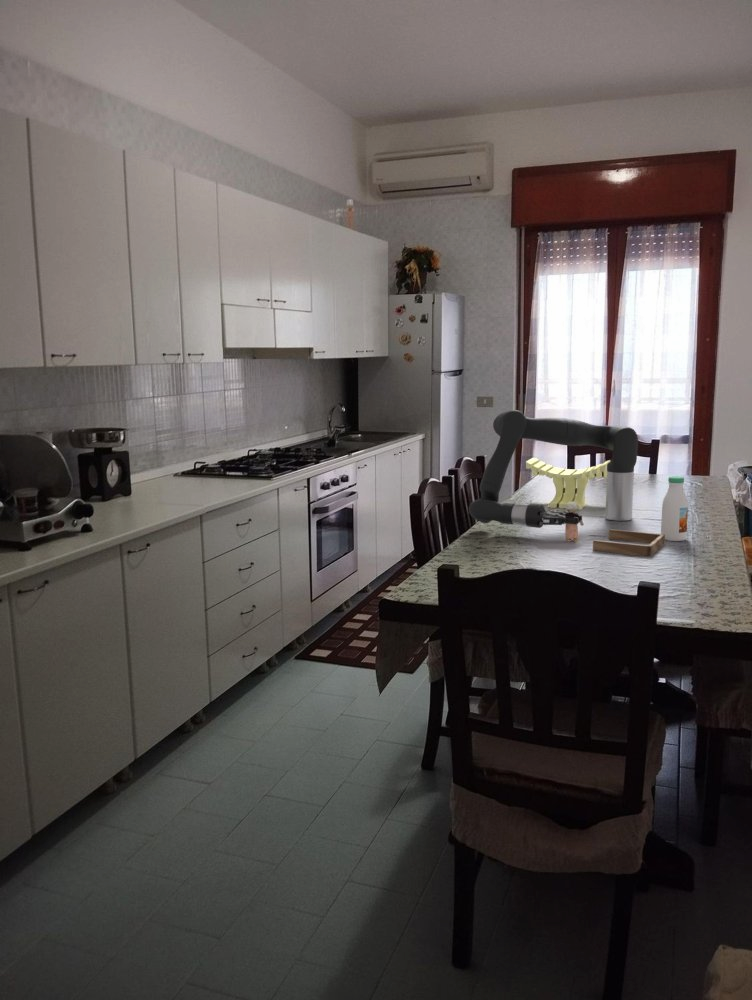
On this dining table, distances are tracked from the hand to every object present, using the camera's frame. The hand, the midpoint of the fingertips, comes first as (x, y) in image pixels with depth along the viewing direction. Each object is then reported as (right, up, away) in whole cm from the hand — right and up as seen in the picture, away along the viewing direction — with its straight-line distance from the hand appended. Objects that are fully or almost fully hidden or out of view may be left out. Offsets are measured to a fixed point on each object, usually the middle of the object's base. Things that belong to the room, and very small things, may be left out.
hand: (579, 519), depth 251 cm
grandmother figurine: (-2, -7, +3) cm, 8 cm away
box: (+13, -8, -7) cm, 17 cm away
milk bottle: (+30, -6, +2) cm, 31 cm away
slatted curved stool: (+11, +4, +63) cm, 64 cm away
